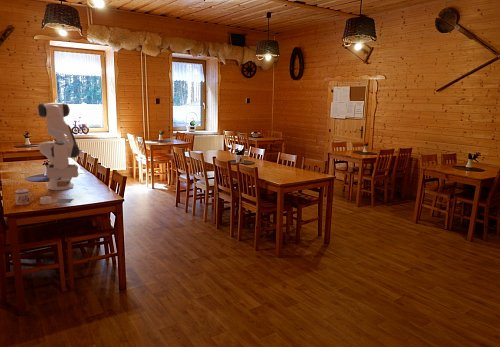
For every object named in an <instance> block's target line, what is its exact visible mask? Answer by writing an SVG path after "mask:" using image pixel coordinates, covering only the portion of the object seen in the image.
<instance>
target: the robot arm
mask: <svg viewBox="0 0 500 347" xmlns="http://www.w3.org/2000/svg"><path fill="white" fill-rule="evenodd" d="M70 110H71V108H70V107H69V105H68V103H65V102H49V103H47V102H46V103H43V102H42V103H40V104H38V105H37V109H36V111H37V114H38V116H39V117H40V118H44V119H45V118H46V128H47V134H48V136H50V137H52V138H54V139H55V140H56V141H43V142H41V143H40V144H39V147H38V148H39V149H38V150H39V152H40V154H42V155H43V156H45V157H46V158H47V160H48V161H49V164H47V169H46V177H47V179H49V186H48V187H47V189H48V190H51V191H66V190H71V189H74V183H72V182H71V181H72V179H73V178H78V177H79V166H78V165H77V164H75V163H73V164H69V163H70V162H69V161H70V160H69V158H71V159H72V158H73V159H76V158H78V156H79V155H80V152H81V150H80V148H79V146H78V144H77V141H76V138H75V135H74V133H73V130H72V127H71V126H70V125H69V124H67V123H66V121H65V117H68V116H69V115H70ZM61 179H69V181H68V184H69V185H67V186H62V187H57V182H58V181H59V180H61Z"/></svg>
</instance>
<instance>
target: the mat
mask: <svg viewBox="0 0 500 347" xmlns="http://www.w3.org/2000/svg"><path fill="white" fill-rule="evenodd" d="M73 201H74V198H59V199H57V200H56V201H55V204H71V203H72V202H73Z"/></svg>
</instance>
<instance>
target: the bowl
mask: <svg viewBox="0 0 500 347" xmlns="http://www.w3.org/2000/svg"><path fill="white" fill-rule="evenodd" d="M39 202H40V203H39V204H41V205H49V204H51V203H53V202H52V196H50V195H49V196H46V195H44V196H41V197H39Z"/></svg>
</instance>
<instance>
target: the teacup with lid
mask: <svg viewBox="0 0 500 347" xmlns="http://www.w3.org/2000/svg"><path fill="white" fill-rule="evenodd" d="M13 192H14V197H15V204H16V206H26V205H28V204H29V205H30V204H31V200H33V199H34V198H35V193H34V192H31V191H30V190H29V189H27V188H24V187H23V186H20V187H19V189H17V190H15V191H13ZM30 194H32V197H30Z"/></svg>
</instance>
